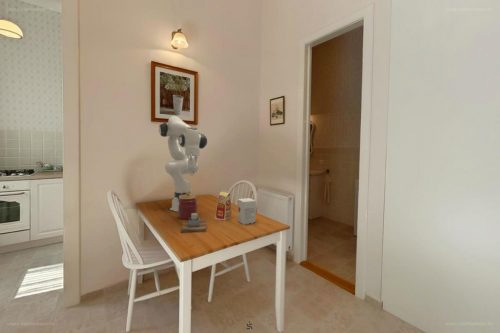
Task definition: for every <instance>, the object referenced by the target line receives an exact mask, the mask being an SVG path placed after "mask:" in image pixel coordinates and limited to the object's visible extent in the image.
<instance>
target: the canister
mask: <svg viewBox="0 0 500 333" xmlns="http://www.w3.org/2000/svg"><path fill="white" fill-rule="evenodd" d="M179 198H180V199H179V200H178V202H179V205H178V213H177V214H178V215H177V216H178V219H180V220H189V217H191V214H192V213H197V214H198V203H197V202H198V199H197V195H195V194H192V193H191V192H190V193H189V192H187V193H186V194H185V195H182V196H180V197H179Z"/></svg>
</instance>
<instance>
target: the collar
mask: <svg viewBox="0 0 500 333" xmlns="http://www.w3.org/2000/svg"><path fill="white" fill-rule="evenodd" d="M187 220H188V221H187V222H188V227H200V221H201V217H200V216H199V217H198V216H197V220H191V217H189V219H187Z"/></svg>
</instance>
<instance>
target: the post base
mask: <svg viewBox="0 0 500 333" xmlns="http://www.w3.org/2000/svg"><path fill="white" fill-rule="evenodd" d="M197 217H198V212H197V213H192V214H191V220H197ZM200 232H203V233H204V232H207V220H205V221H204V220H203V221H201V220H200V227H188V221H184V222H183V223H182V225H181V228H180V233H182V234H183V233H200Z"/></svg>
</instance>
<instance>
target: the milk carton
mask: <svg viewBox="0 0 500 333" xmlns="http://www.w3.org/2000/svg"><path fill="white" fill-rule="evenodd" d="M216 202H217V203H216V208H215V214H214V215H215V216H214V219H215V220H217V221H219V220H220V221H228V220H230V219H232V201H231V192H230V191H226V190H224V189H220V192H219V194H218V197H217V201H216Z"/></svg>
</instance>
